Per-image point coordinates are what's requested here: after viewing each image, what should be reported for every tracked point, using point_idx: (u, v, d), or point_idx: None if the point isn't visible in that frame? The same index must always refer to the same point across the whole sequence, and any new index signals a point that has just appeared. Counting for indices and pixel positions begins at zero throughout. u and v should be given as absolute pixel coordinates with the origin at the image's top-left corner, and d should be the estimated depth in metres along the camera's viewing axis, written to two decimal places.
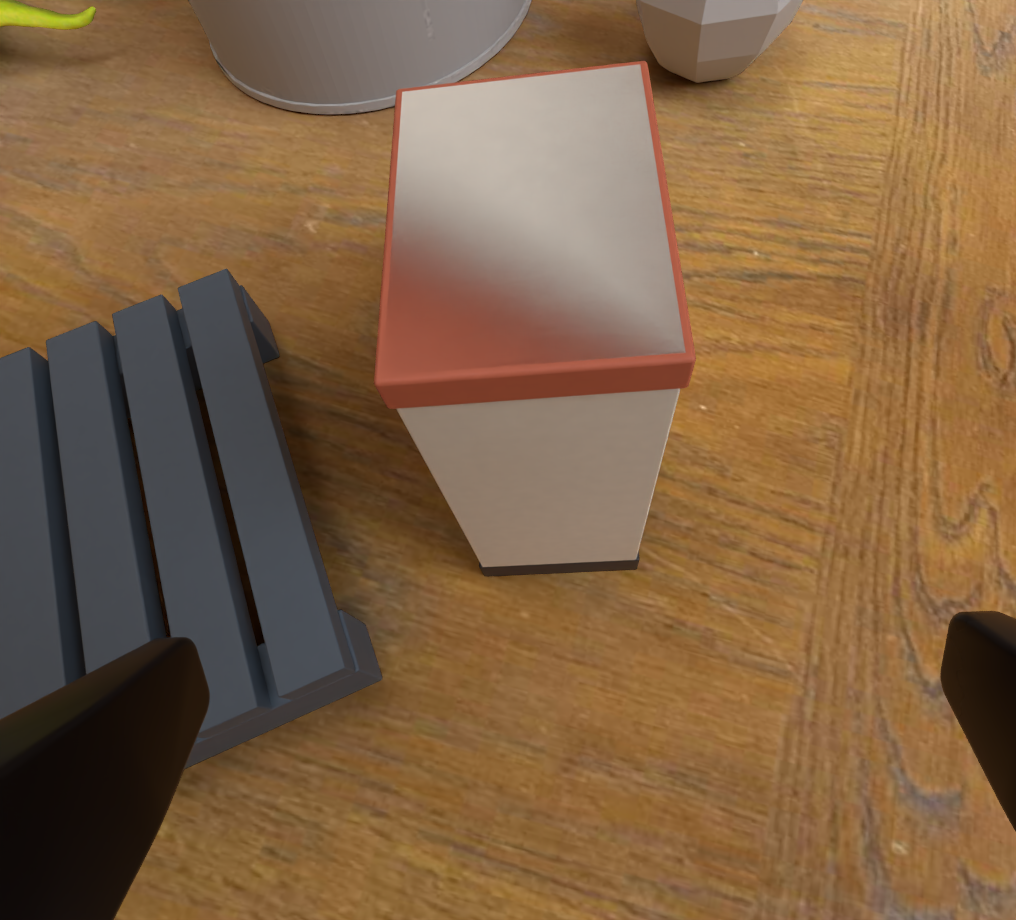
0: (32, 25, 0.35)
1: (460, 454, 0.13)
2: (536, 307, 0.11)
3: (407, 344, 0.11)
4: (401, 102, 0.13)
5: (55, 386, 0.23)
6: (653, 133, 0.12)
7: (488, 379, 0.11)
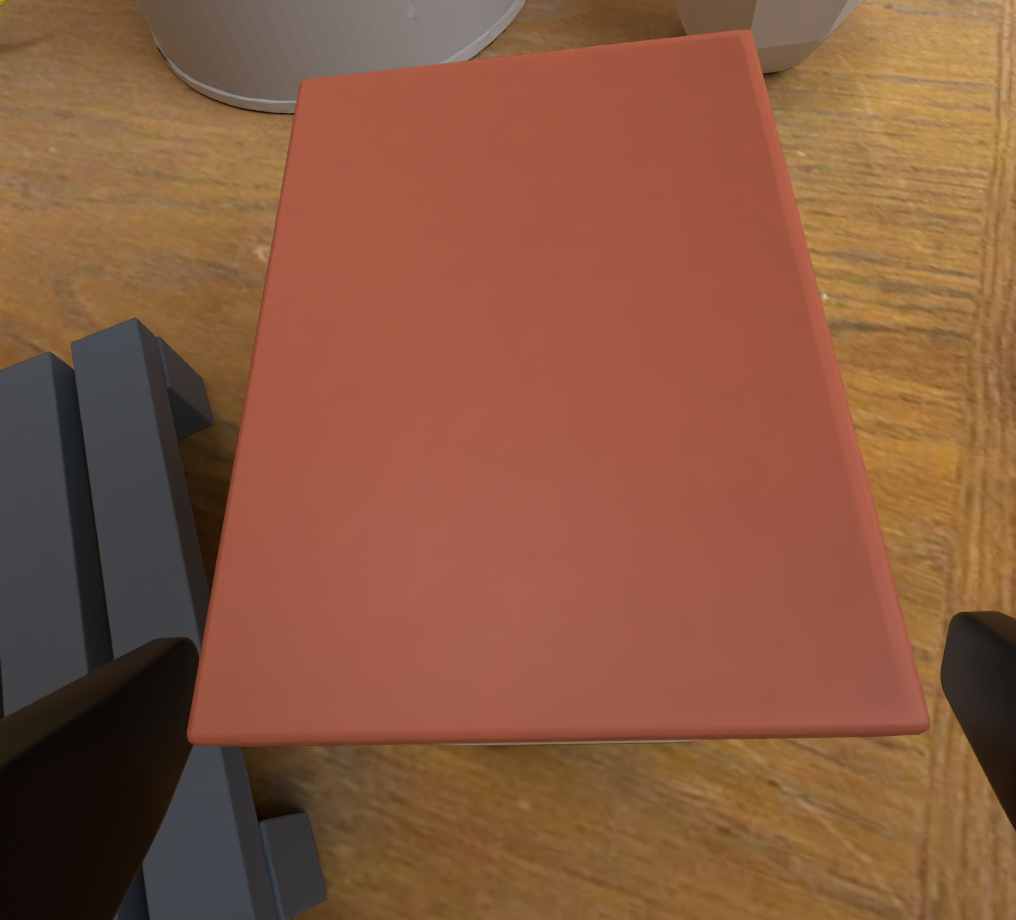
0: None
1: None
2: (549, 558, 0.05)
3: (268, 638, 0.05)
4: (306, 103, 0.07)
5: None
6: (777, 167, 0.06)
7: (441, 742, 0.05)
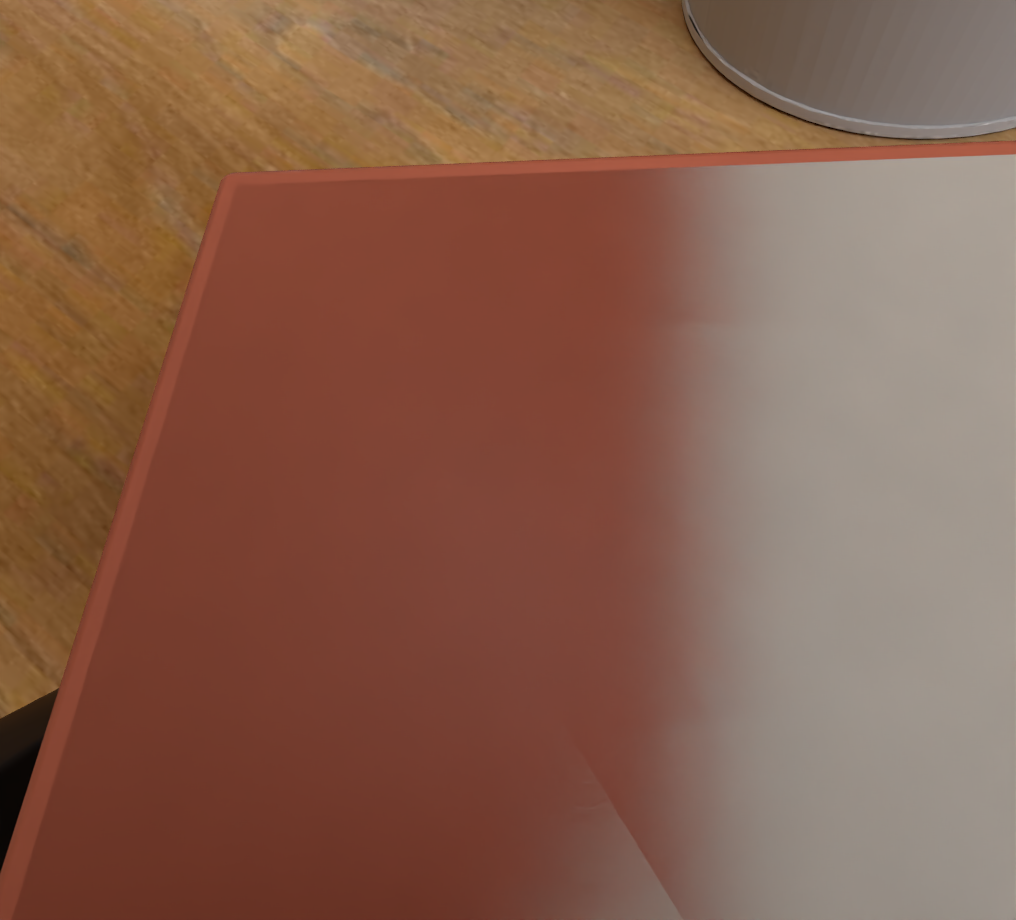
0: None
1: None
2: None
3: None
4: (225, 222, 0.04)
5: None
6: None
7: None
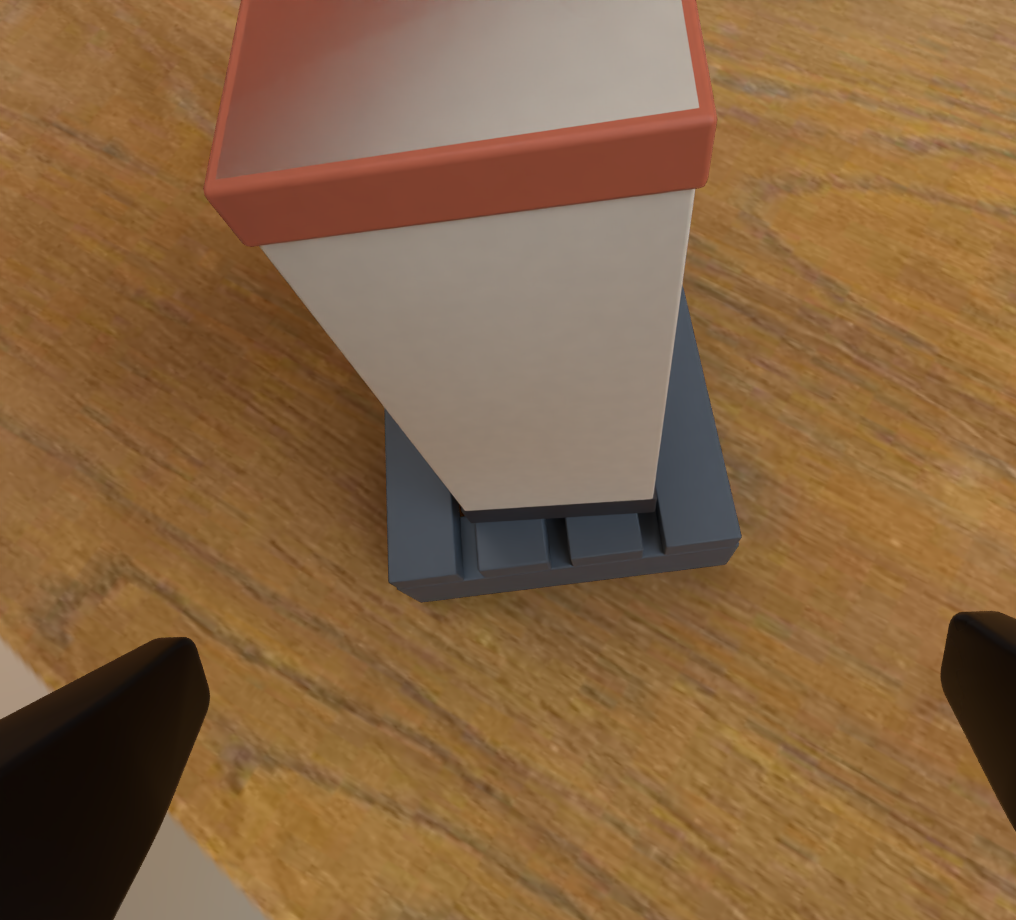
0: None
1: (384, 335, 0.09)
2: (458, 63, 0.07)
3: (258, 132, 0.07)
4: None
5: None
6: None
7: (378, 176, 0.07)
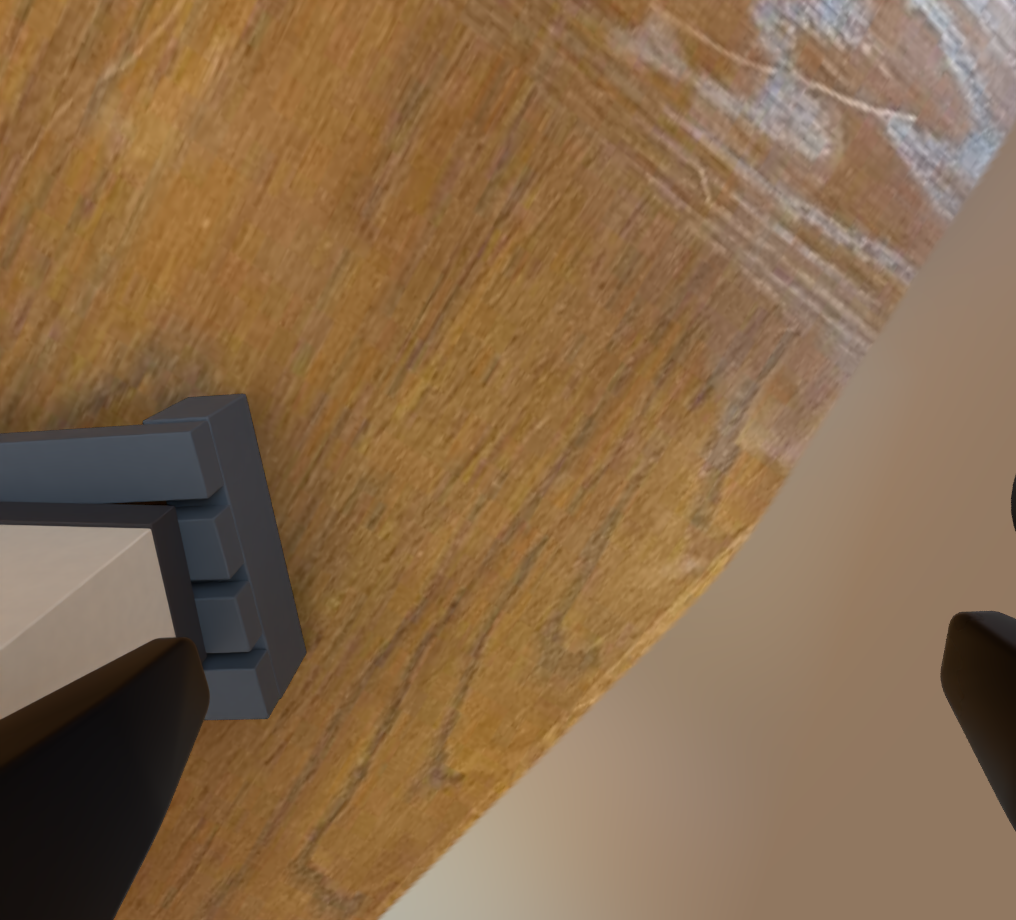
0: None
1: None
2: None
3: None
4: None
5: None
6: None
7: None
